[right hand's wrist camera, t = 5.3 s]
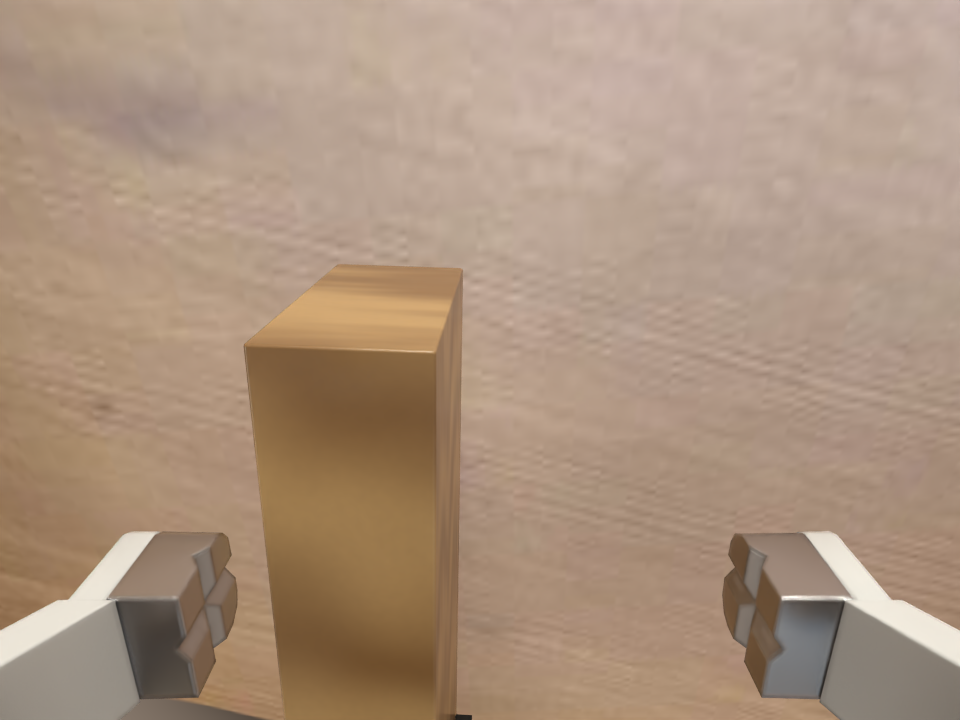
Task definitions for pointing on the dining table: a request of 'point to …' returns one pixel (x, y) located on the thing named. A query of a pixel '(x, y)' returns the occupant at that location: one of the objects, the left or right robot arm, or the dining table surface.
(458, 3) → the dining table surface
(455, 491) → the bar
